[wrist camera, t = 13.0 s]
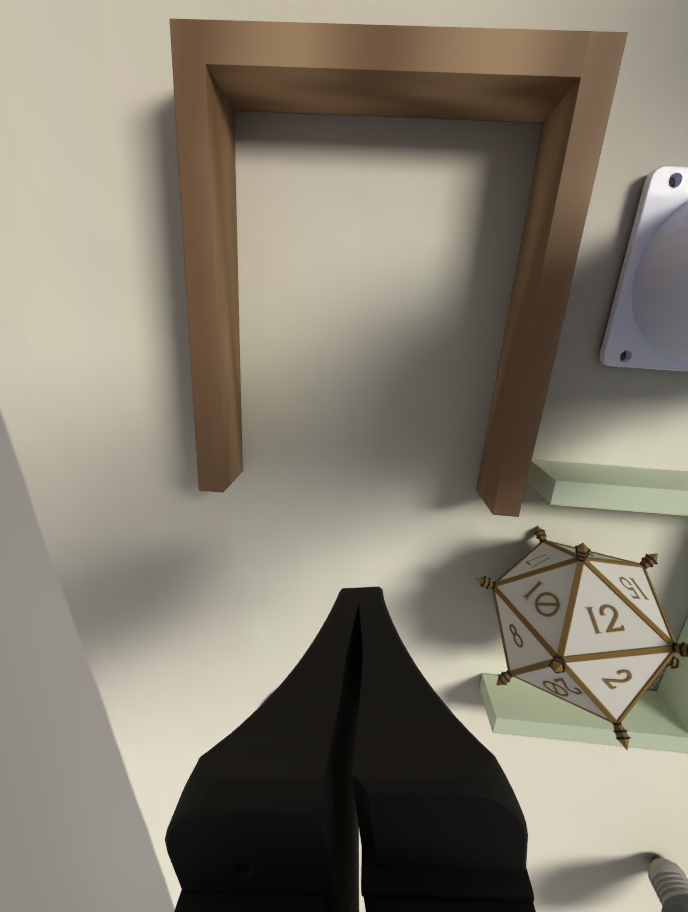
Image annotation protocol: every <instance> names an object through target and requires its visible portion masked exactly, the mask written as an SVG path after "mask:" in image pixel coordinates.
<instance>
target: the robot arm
mask: <svg viewBox="0 0 688 912" xmlns="http://www.w3.org/2000/svg"><path fill="white" fill-rule="evenodd" d="M670 176H671V177H673V178H674V179H675V185H674V187H673V188H672V187H670V186H669V178H670ZM624 351H625V352H626V358H625V359H624V360H623V361H621V360H620V355H621V353H622V352H624ZM599 359H600V362H601V363H602V364H603V365H606V366H612V367H627V368H642V369H657V370H673V371H688V167H684V166H661V167H659V168H657V169H656V170H654V171H652V172H651V173H650V174H649V175H648V176H647V178H646V180H645V182H644V186H643V190H642V194H641V198H640V202H639V205H638V209H637V213H636V217H635V221H634V225H633V228H632V232H631V236H630V240H629V244H628V248H627V251H626V255H625V259H624V263H623V267H622V271H621V274H620V278H619V282H618V286H617V290H616V294H615V298H614V301H613V305H612V309H611V313H610V317H609V321H608V324H607V328H606V332H605V336H604V340H603V344H602V347H601V351H600V357H599ZM359 831H360V837H361V844H362V867H361V893H362V896H364V902H365V909H366V912H536V911H535V908H534V904H533V902H534V895H533V890H532V886H531V883H530V879H529V876H528V872H527V869H526V859H527V842H528V832H527V826H526V821H525V818H524V815H523V812H522V810H521V807H520V805H519V803H518V800H517V798H516V796H515V794H514V791H513V789H512V787H511V785H510V783H509V781H508V779H507V777H506V775H505V774H504V772H503V770H502V768H501V766H500V765H499V763H498V761H497V759H496V757H495V756H494V755H493V754H492V753H491V752H490V751H489V750H488V749H487V748H486V747H485V746H484V745H483V744H481V743H480V742H479V741H478V740H477V739H476V738H475V737H474V736H473V735H472V734H471V733H470V732H469V731H468V729H467V728H466V727H465V726H464V725H463V724H462V723H461V722H460V721H459V720H458V719H457V718H456V716H455V715H454V714H453V713H452V712H451V711H450V709H449V708H448V707H447V706H446V705H445V703H444V702H443V701H442V700H441V698H440V697H439V696H438V695H437V694H436V692H435V691H434V690H433V689H432V687H431V686H430V684H429V683H428V682H427V680H426V679H425V678H424V676H423V675H422V673H421V672H420V670H419V669H418V667H417V666H416V664H415V663H414V661H413V659H412V658H411V656H410V655H409V653H408V651H407V649H406V648H405V646H404V644H403V642H402V640H401V638H400V637H399V635H398V633H397V630H396V628H395V626H394V624H393V622H392V620H391V617H390V615H389V612H388V610H387V607H386V604H385V601H384V596H383V590H382V589H381V588H380V587H363V588H343V589H342V590H341V591H340V592H339V594H338V597H337V599H336V601H335V603H334V605H333V608H332V609H331V611H330V613H329V615H328V617H327V619H326V621H325V622H324V624H323V626H322V628H321V629H320V631H319V633H318V634H317V636H316V638H315V639H314V641H313V642H312V644H311V645H310V647H309V648H308V650H307V651H306V653H305V654H304V656H303V657H302V658H301V660H300V661H299V663H298V664H297V665H296V666H295V668H294V669H293V670H292V672H291V673H290V674H289V675H288V677H287V678H286V679H285V680H284V681H283V682H282V684H281V685H280V686H279V687H278V688H277V689H276V690H275V691H274V693H273V694H272V695H271V696H270V697H269V698H268V699H267V700H266V701H265V702H264V703H263V704H262V705H261V706H260V707H259V708H258V709H257V710H256V711H255V712H254V713H253V714H252V715H251V716H250V717H249V718H247V719H246V720H245V721H244V722H243V723H242V724H241V725H240V726H239V727H238V728H237V729H235V730H234V731H233V732H232V733H231V734H229V735H228V736H227V737H226V738H224V739H223V740H222V741H221V742H219V743H218V744H217V745H215V746H214V747H213V748H212V749H210V750H209V751H208V752H206V753H205V754H204V755H202V756H201V757H200V758H199V760H198V762H197V764H196V766H195V768H194V770H193V772H192V774H191V775H190V777H189V779H188V781H187V783H186V785H185V787H184V790H183V792H182V794H181V797H180V799H179V802H178V804H177V807H176V809H175V811H174V814H173V816H172V819H171V821H170V824H169V826H168V829H167V833H166V837H165V842H166V847H167V852H168V855H169V857H170V860H171V862H172V865H173V867H174V870H175V873H176V875H177V878H178V880H179V883H180V885H181V888H182V891H181V893H180V896H179V899H178V902H177V905H176V908H175V911H174V912H359Z"/></svg>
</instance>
